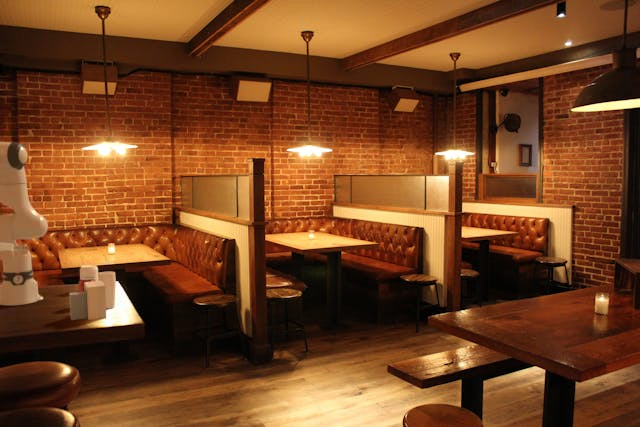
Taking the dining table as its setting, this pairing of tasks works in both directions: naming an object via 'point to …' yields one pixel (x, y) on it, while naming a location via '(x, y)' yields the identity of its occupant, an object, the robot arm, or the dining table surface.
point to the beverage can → (89, 271)
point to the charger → (78, 305)
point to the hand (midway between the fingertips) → (27, 249)
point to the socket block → (95, 299)
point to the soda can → (85, 279)
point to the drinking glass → (108, 287)
